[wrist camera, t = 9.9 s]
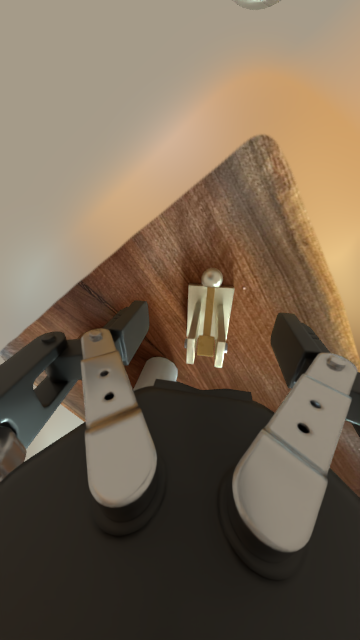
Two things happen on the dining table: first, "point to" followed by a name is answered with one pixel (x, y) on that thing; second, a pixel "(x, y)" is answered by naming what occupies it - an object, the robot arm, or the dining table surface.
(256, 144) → the dining table surface
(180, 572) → the robot arm
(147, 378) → the cup
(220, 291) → the switch bracket
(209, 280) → the switch lever
